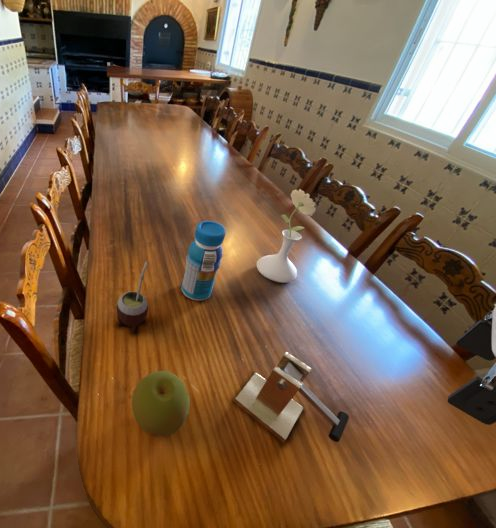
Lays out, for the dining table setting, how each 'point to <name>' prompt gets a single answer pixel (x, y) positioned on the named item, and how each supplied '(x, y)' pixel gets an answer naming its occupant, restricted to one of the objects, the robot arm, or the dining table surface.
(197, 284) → the beverage bottle
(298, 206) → the flower in vase
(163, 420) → the apple
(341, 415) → the lever
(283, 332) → the dining table surface
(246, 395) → the bracket
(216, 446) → the dining table surface
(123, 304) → the mate gourd
